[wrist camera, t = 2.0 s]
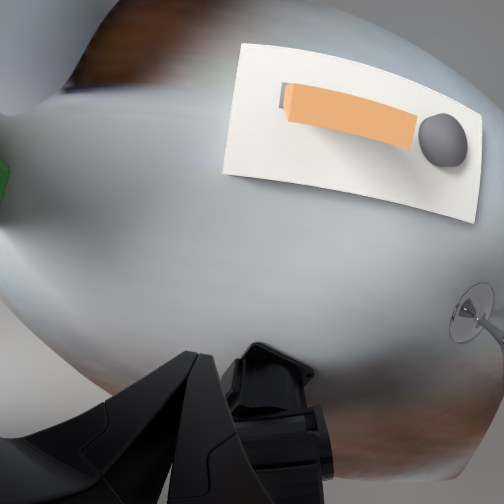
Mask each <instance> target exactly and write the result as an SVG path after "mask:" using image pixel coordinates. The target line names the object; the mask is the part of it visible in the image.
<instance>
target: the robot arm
mask: <svg viewBox="0 0 504 504" xmlns="http://www.w3.org/2000/svg"><path fill="white" fill-rule="evenodd" d="M253 348H258V349H257V350H254V349H253ZM307 373H310V374H309V375H307ZM313 376H314V371H313V370H312V369H311V368H308V367H306V366H304V365H302V364H300V363H298V362H296V361H293V360H291V359H289V358H287V357H285V356H283V355H281V354H279V353H277V352H275V351H273V350H271V349H269V348H267V347H265V346H263V345H261V344H259V343H252V344H251V345H250V346H249V347H248V349H247V350H246V351H245V353H244V354H243V355H242V357H241V358H240V359H239V358H238V359H235V360H234V362H233V363H232V364H231V365H230V367H229V368H228V369H227V371H226V372H225V373H224V374H223V376H222V380H221V381H220V378H219V375H218V371H217V368H216V365H215V361H214V358H213V356H212V355H208V354H203V353H200V354H198V353H197V352H191V351H184V352H182V353H180V354H179V355H177V356H176V357H174V358H173V359H171V360H170V361H168V362H167V363H165V364H164V365H162V366H160V367H159V368H157V369H156V370H154V371H153V372H151V373H149V374H148V375H146V376H145V377H143V378H142V379H140V380H138V381H137V382H135V383H133V384H132V385H130V386H129V387H127V388H125V389H124V390H122V391H120V392H119V393H117V394H115V395H114V396H112V397H110V398H109V399H107V400H105V403H104V402H102V403H100V404H98V405H97V406H95V407H93V408H91V409H90V410H88V411H86V412H84V413H82V414H80V415H78V416H76V417H74V418H72V419H69V420H67V421H65V422H62V423H60V424H58V425H55V426H52V427H50V428H47V429H44V430H42V431H39V432H36V433H34V434H31V435H28V436H24V437H20V438H1V437H0V504H157V501H158V499H159V496H160V494H161V491H162V488H163V486H164V483H165V480H166V478H167V475H168V473H169V470H170V468H171V465H172V469H171V476H170V484H169V491H168V500H167V504H324V495H323V484H322V481H327V480H332V479H333V477H334V469H333V457H332V450H331V443H330V438H329V434H328V430H327V427H326V423H325V420H324V416H323V413H322V409H321V406H320V404H319V405H313V407H309V408H307V404H306V397H305V391H304V386H305V385H306V384H307V383H308V382H309V381H310V380H311V379H312V378H313ZM172 462H173V463H172Z"/></svg>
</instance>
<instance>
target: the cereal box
mask: <svg viewBox="0 0 504 504" xmlns="http://www.w3.org/2000/svg"><path fill="white" fill-rule="evenodd" d="M9 173H10V169H9V167H8V166H7V165H6V164H5V162H4V161H3V160H2V159H1V157H0V204H1V200H2V196H3V193H4V189H5V186H6V182H7V179H8V176H9Z"/></svg>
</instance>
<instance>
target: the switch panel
mask: <svg viewBox="0 0 504 504" xmlns="http://www.w3.org/2000/svg"><path fill="white" fill-rule="evenodd" d="M282 82H285V83H297V84H303V85H309V86H314V87H319V88H324V89H329V90H333V91H338V92H342V93H346V94H350V95H354V96H358V97H361V98H365V99H368V100H372V101H375V102H379V103H382V104H385V105H388V106H391V107H394V108H397V109H400V110H403V111H406V112H408V113H411V114H414V115H416V116H418V117H417V122H416V126H415V131H414V135H413V139H412V144H411V148H410V150H408V149H405V148H401V147H398V146H395V145H392V144H388V143H385V142H381V141H378V140H374V139H370V138H367V137H363V136H359V135H355V134H350V133H346V132H342V131H337V130H333V129H328V128H323V127H318V126H312V125H307V124H301V123H295V122H288V119H287V116H286V113H285V110H284V109H282V108H279V101H280V93H281V86H282ZM440 113H446V114H449V115H451V116H453V117H454V118H455V119H456V120H457V121H458V122H459V123H460V124H461V126H462V128H463V129H464V132H465V134H466V138H467V143H468V150H467V155H466V158H465V160H464V161H463V163H462V164H460V165H459V166H456V167H438V166H435V165H434V164H432V163H431V162H429V161H428V159H427V158H426V157H425V156H424V154H423V152H422V150H421V147H420V144H419V138H418V132H419V127H420V125H421V123H422V122H423V120H424V119H426V118H428V117H431V116H434V115H437V114H440ZM481 160H482V116H481V115H479V114H478V113H476V112H474V111H473V110H471V109H469V108H467V107H466V106H464V105H462V104H460V103H458V102H456V101H454V100H452V99H451V98H449V97H447V96H445V95H442V94H440V93H438V92H436V91H434V90H432V89H430V88H427V87H425V86H423V85H421V84H418V83H416V82H413V81H411V80H408V79H406V78H403V77H401V76H398V75H395V74H392V73H390V72H387V71H384V70H381V69H378V68H375V67H372V66H368V65H365V64H362V63H358V62H354V61H351V60H347V59H343V58H339V57H335V56H330V55H326V54H321V53H316V52H311V51H305V50H299V49H293V48H286V47H278V46H270V45H259V44H246V43H242V46H241V51H240V57H239V63H238V69H237V75H236V81H235V87H234V94H233V100H232V107H231V114H230V121H229V128H228V135H227V142H226V150H225V158H224V166H223V174H226V175H234V176H243V177H251V178H259V179H267V180H274V181H281V182H288V183H295V184H301V185H307V186H314V187H319V188H325V189H331V190H336V191H342V192H347V193H352V194H357V195H362V196H367V197H371V198H376V199H380V200H385V201H389V202H394V203H398V204H402V205H406V206H410V207H414V208H418V209H422V210H426V211H430V212H433V213H437V214H441V215H444V216H448V217H451V218H455V219H458V220H462V221H465V222H469V223H472V224H474V221H475V216H476V209H477V202H478V195H479V186H480V175H481Z"/></svg>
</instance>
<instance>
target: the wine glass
mask: <svg viewBox="0 0 504 504" xmlns="http://www.w3.org/2000/svg"><path fill="white" fill-rule="evenodd" d="M494 300H495V299H494V292H493V289H492V287H491V286H490V285H489V284H487V283H479V284H476V285H475V286H473V287H472V288H470V289H469V290H468V291H467V292H466V293H465V294H464V296H463V297H462V298H461V299H460V301H459V303H458V304H457V306H456V308H455V310H454V313H453V315H452V318H451V322H450V336H451V338H452V340H453V341H454V342H455V343H458V344H464V343H467V342H470V341H471V340H473V339H474V338H476V337H477V336H478V335H479V334H480V333H481V332H482V330H483V329H484V328H485V329H486V330H487V331H488V332H489V333H490V334H491V335H492V336H493V337H494V338H495V340H496V341H497V342H498V344H499V345H500V347H501V350H502V355H503V375H502V383H503V391H504V331H502V330H501V329H499V328H497V327H495V326H494V325H492V324H491V323H490V322H488V321H489V319H490V317H491V315H492V311H493V308H494Z"/></svg>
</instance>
